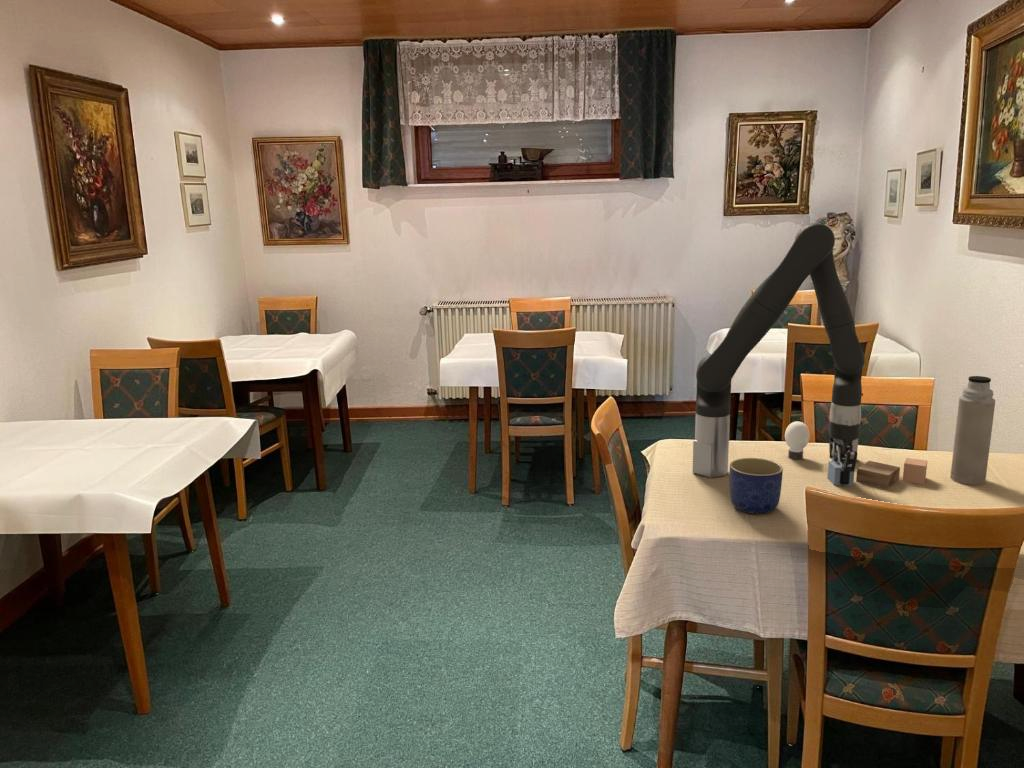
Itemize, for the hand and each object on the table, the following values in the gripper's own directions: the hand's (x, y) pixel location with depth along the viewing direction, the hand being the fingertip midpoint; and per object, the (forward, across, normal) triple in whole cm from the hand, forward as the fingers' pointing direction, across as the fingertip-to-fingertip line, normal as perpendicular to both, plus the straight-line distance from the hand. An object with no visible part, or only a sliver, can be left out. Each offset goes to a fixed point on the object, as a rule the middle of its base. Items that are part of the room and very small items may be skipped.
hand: (840, 480), depth 197 cm
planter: (+1, +17, -27) cm, 32 cm away
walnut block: (+1, 0, +10) cm, 10 cm away
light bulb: (+1, -20, -6) cm, 21 cm away
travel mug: (+1, -18, +8) cm, 19 cm away
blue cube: (0, 0, 0) cm, 0 cm away
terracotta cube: (+1, -1, +20) cm, 20 cm away
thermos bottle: (+1, -1, +33) cm, 33 cm away
